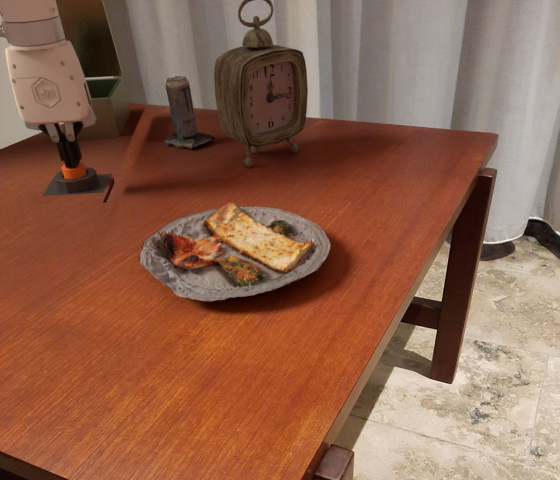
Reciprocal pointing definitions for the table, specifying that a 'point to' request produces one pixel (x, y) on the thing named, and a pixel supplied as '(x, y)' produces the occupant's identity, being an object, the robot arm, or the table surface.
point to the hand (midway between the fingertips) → (73, 164)
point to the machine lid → (90, 36)
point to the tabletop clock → (261, 90)
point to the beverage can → (183, 115)
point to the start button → (74, 171)
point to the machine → (107, 108)
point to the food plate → (234, 252)
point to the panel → (80, 184)
